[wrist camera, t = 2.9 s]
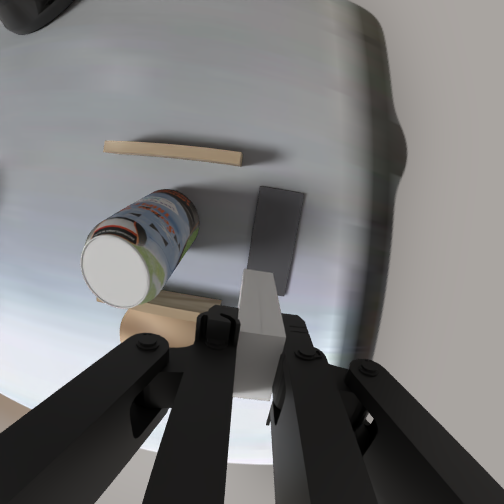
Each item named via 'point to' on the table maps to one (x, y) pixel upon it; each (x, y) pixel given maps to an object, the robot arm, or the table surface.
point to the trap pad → (275, 234)
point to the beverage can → (139, 248)
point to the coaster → (158, 327)
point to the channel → (166, 300)
